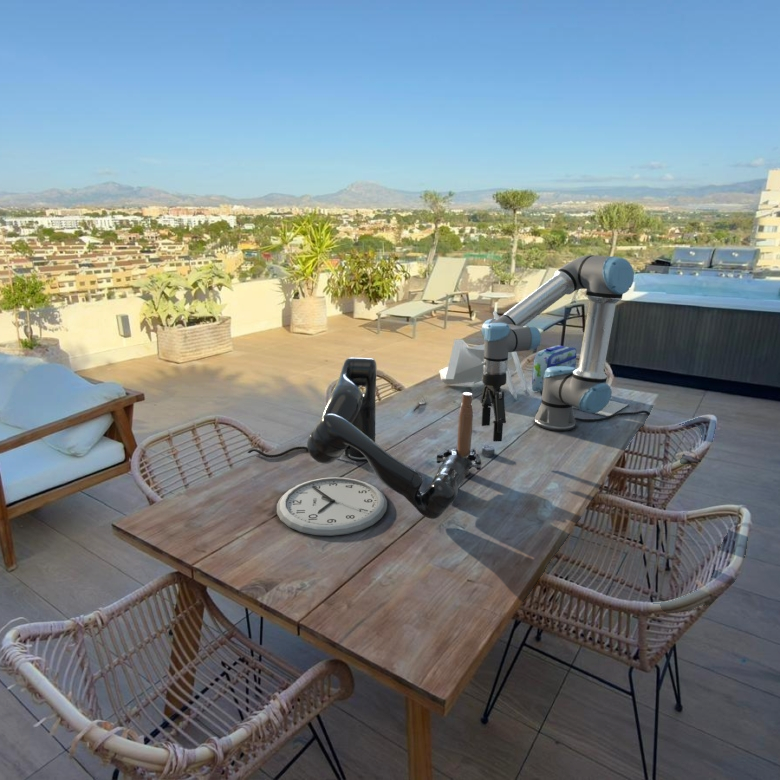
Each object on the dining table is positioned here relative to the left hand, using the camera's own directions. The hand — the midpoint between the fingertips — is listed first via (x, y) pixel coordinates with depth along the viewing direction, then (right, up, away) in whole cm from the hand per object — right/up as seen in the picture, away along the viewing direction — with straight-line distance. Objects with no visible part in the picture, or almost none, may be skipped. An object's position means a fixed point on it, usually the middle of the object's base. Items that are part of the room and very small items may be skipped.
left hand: (465, 449), depth 163 cm
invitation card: (+68, +11, +63) cm, 93 cm away
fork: (-11, +12, +59) cm, 61 cm away
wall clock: (-39, -13, -21) cm, 46 cm away
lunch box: (+53, +18, +85) cm, 102 cm away
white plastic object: (+18, +18, +80) cm, 84 cm away
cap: (+10, -1, +12) cm, 16 cm away
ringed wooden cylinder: (-1, -7, 0) cm, 7 cm away
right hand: (+10, +4, +11) cm, 16 cm away
